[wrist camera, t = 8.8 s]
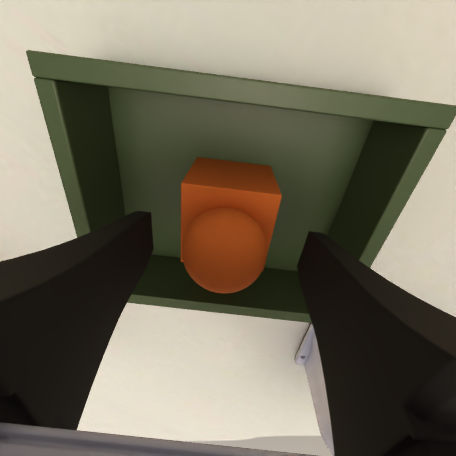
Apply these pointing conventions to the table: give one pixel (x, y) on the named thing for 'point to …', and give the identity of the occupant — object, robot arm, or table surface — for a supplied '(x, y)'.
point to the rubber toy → (227, 222)
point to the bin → (232, 151)
